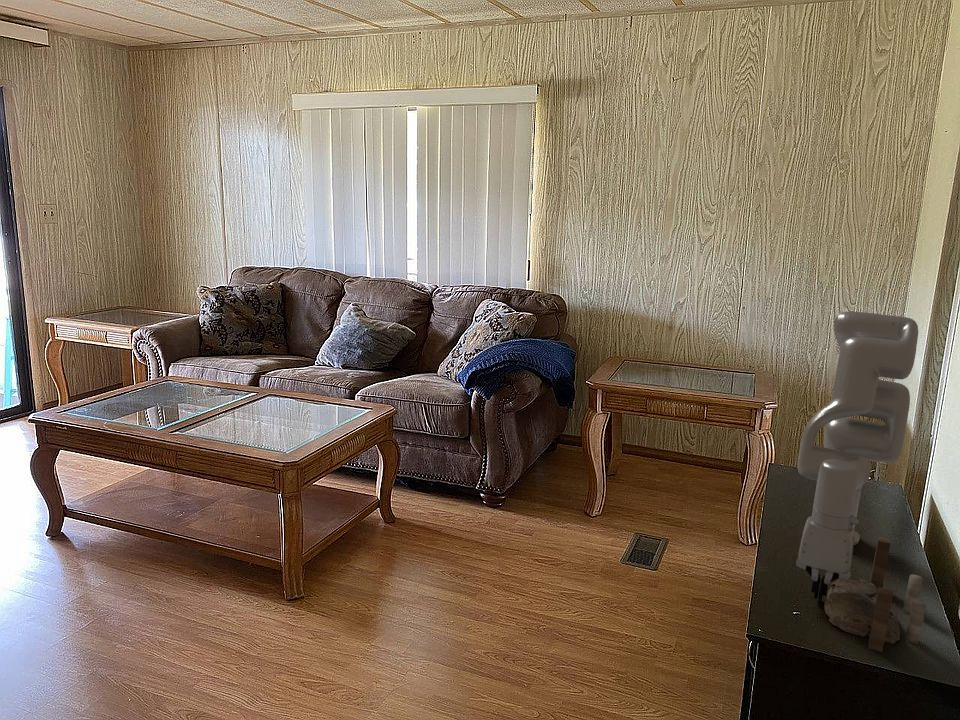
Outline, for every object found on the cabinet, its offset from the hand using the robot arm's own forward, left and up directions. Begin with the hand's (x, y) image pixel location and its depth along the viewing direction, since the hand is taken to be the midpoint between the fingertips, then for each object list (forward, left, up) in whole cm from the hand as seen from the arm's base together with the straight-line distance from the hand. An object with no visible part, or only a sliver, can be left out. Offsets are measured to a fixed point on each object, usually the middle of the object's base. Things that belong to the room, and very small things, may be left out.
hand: (818, 596), depth 162 cm
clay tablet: (0, +8, -2) cm, 8 cm away
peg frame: (0, +14, -1) cm, 14 cm away
